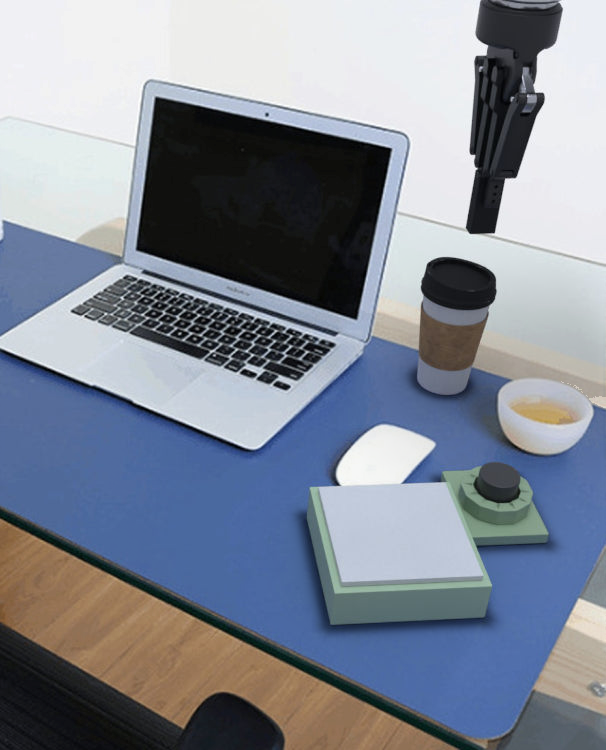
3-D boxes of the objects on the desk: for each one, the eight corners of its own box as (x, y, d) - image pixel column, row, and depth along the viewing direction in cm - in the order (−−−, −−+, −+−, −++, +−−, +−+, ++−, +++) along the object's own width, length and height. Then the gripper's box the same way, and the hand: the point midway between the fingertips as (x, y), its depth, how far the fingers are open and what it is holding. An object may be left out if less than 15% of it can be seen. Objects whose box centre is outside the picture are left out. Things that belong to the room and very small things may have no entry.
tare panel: (513, 477, 106) (519, 454, 104) (546, 543, 98) (553, 520, 96) (440, 479, 105) (444, 457, 104) (467, 546, 97) (472, 523, 95)
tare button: (509, 476, 102) (513, 460, 101) (522, 502, 99) (526, 487, 98) (471, 478, 102) (474, 462, 100) (482, 504, 98) (486, 488, 97)
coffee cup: (415, 355, 125) (433, 247, 117) (483, 371, 123) (506, 262, 114) (398, 390, 119) (415, 279, 110) (469, 408, 116) (492, 296, 108)
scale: (443, 512, 101) (450, 477, 99) (484, 617, 90) (494, 581, 87) (306, 517, 100) (309, 482, 97) (330, 625, 88) (335, 588, 86)
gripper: (461, -19, 97) (428, 205, 111) (508, 17, 87) (465, 260, 100) (535, -19, 98) (493, 203, 111) (590, 17, 88) (537, 258, 101)
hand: (480, 230), depth 106 cm, fingers closed
